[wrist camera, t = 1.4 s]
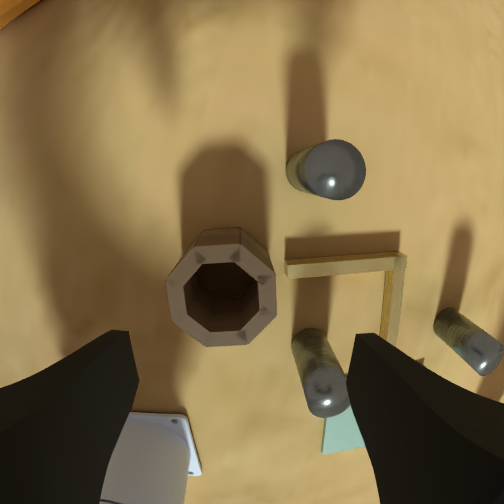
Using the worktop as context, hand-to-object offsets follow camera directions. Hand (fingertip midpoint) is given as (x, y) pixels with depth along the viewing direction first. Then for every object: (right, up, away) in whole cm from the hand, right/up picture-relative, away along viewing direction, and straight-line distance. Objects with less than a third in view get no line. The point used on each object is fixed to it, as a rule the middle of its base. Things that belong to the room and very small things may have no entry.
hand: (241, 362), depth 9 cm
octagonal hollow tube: (-1, +2, +9) cm, 10 cm away
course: (+9, +3, +10) cm, 14 cm away
